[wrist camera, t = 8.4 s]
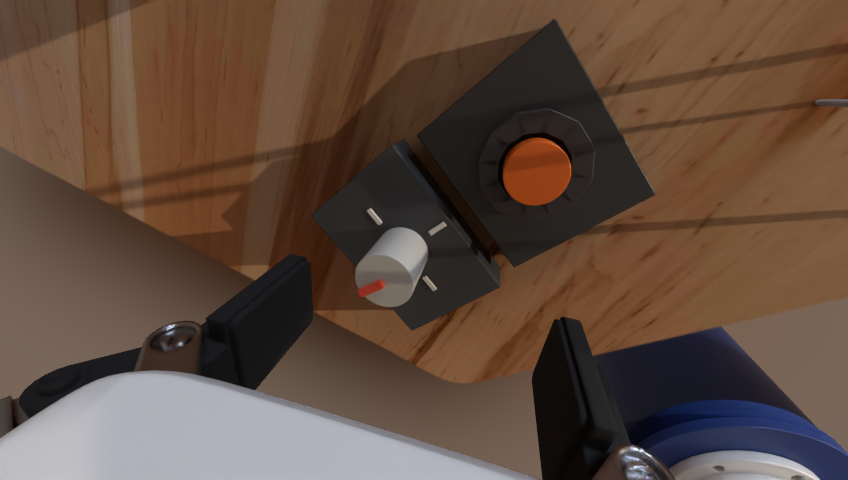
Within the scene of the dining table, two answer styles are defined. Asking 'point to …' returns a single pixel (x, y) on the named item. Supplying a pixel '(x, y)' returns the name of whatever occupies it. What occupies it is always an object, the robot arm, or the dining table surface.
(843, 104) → the juicer
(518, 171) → the button
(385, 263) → the temp dial
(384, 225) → the dial panel
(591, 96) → the button block
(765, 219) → the dining table surface
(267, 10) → the dining table surface
